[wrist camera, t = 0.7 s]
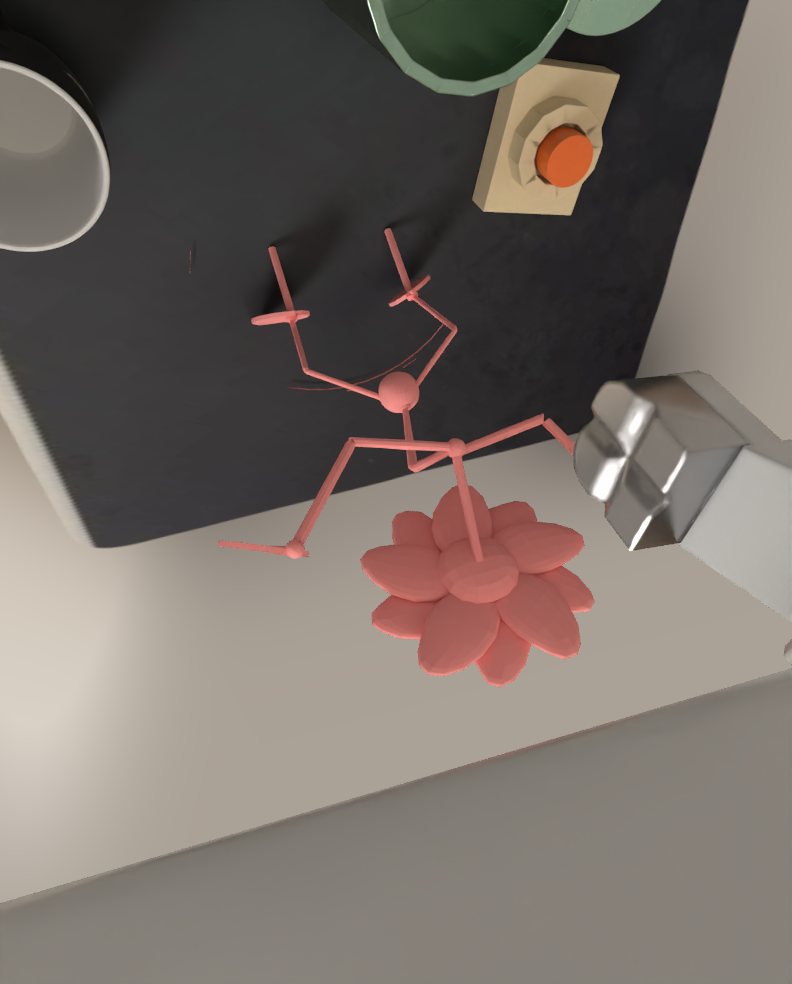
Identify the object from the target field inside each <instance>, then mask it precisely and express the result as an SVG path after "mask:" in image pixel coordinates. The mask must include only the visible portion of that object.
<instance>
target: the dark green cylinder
mask: <svg viewBox="0 0 792 984" xmlns="http://www.w3.org/2000/svg"><path fill="white" fill-rule="evenodd" d="M323 1H324V2H325V3H326V5H327V6H328V7H329V9H330V10H331V11H332V12H333V13H335V14H336V15H337V16H338V17H339V18H340V19H342V20H343V21H344V22H345V23H346V24H347V25H349V26H350V27H351V28H352V29H353V30H354V31H356V32H357V33H358V34H359V35H360V36H361V37H363V38H364V39H365V40H366V41H367V42H368V43H370V44H371V45H372V46H373V47H374V48H375V49H377V50H378V51H379V52H380V53H381V54H382V55H384V56H385V57H386V58H387V59H388V60H389V61H391V62H392V63H393V64H394V65H395V66H396V67H398V68H399V69H400V70H401V71H402V72H403V73H404V74H406V75H408V76H409V77H411V78H413V79H414V80H416V81H417V82H419V83H421V84H422V85H424V86H426V87H427V88H429V89H431V90H432V91H434V92H437V93H442V94H451V95H460V96H469V97H471V96H476V95H479V94H483V93H486V92H489V91H492V90H495V89H499V88H502V87H505V86H508V85H510V84H511V83H513V82H514V81H515V80H517V79H518V78H519V77H521V76H522V75H523V74H525V73H526V72H527V71H529V70H530V69H531V68H533V67H534V66H535V65H537V64H538V63H539V62H541V61H542V59H543V58H544V57H545V56H546V54H547V53H548V52H549V50H550V49H551V48H552V46H553V45H554V44H555V42H556V41H557V40H558V38H559V37H560V36H561V34H562V33H563V32H564V30H565V29H566V28H567V26H568V25H569V24H570V21H571V20H572V18H573V16H574V13H575V11H576V9H577V6H578V4H579V2H580V0H323Z"/></svg>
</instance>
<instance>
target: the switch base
mask: <svg viewBox="0 0 792 984" xmlns="http://www.w3.org/2000/svg"><path fill="white" fill-rule="evenodd" d="M619 77H620V75H619V74H617V73H615V72H613V71H611V70H610V69H608V68H606V67H604V66H598V65H591V64H583V63H576V62H569V61H562V60H555V59H547V58H543V59H542V61H541V62H539V63H538V64H537V65H535V66H534V67H533V68H531V69H530V70H529V71H527V72H526V73H525V74H523V75H522V76H521V77H519V78H518V79H517V80H515V81H514V82H513V83H511V84H510V85H508V86H505V87H502V88H500V89H499V93H498V97H497V102H496V106H495V110H494V114H493V118H492V122H491V126H490V130H489V134H488V138H487V142H486V146H485V150H484V154H483V158H482V162H481V166H480V170H479V174H478V178H477V182H476V186H475V190H474V194H473V198H472V200H473V201H474V202H475V203H476V204H477V205H478V206H479V207H480V208H481V209H482V210H483V211H485V212H509V213H532V214H555V215H571V213H572V211H573V208H574V205H575V202H576V199H577V196H578V193H579V191H580V188H581V185H582V183H583V182H584V181H585V180H586V178H587V177H588V176H589V175H590V174H591V173H592V171H593V170H594V168H595V165H596V162H597V160H598V157H599V154H600V151H601V148H602V145H603V144H602V132H601V128H602V125H603V122H604V119H605V117H606V114H607V111H608V108H609V105H610V102H611V99H612V97H613V94H614V91H615V88H616V85H617V82H618V80H619ZM565 126H566V127H572V128H574V129H575V130H577V131H578V132H580V133H581V134H583V135H584V136H586V137H587V138H588V139H589V140H590V142H591V144H592V147H593V159H592V163H591V166H590V168H589V170H588V171H587V173H586V174H585V176H584V177H583V178H582V179H581V180H580V181H579V182H577V183H576V184H574V185H572V186H570V187H566V188H560V187H556V186H554V185H553V184H552V183H551V182H549V181H548V180H547V179H546V178H544V177H543V176H542V175H541V174H540V172H539V171H538V168H537V163H536V158H537V152H538V149H539V147H540V145H541V143H542V141H543V140H544V139H545V137H546V136H547V135H548V134H549V133H551V132H552V131H553V130H555V129H557V128H560V127H565Z"/></svg>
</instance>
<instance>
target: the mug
mask: <svg viewBox="0 0 792 984" xmlns="http://www.w3.org/2000/svg"><path fill="white" fill-rule="evenodd" d="M110 179H111V173H110V161H109V154H108V149H107V145H106V141H105V137H104V134H103V131H102V128H101V125H100V122H99V119H98V117H97V114H96V112H95V110H94V108H93V105H92V103H91V101H90V99H89V97H88V96H87V94H86V92H85V90H84V88H83V87H82V85H81V84H80V82H79V81H78V79H77V78H76V76H75V75H74V74H73V73H72V71H71V70H70V69H69V68H68V66H67V65H66V64H65V63H64V62H63V61H62V60H61V59H60V58H59V57H58V56H57V55H55V54H54V53H53V52H52V51H51V50H49V49H48V48H47V47H45V46H44V45H42V44H41V43H39V42H37V41H35V40H34V39H32V38H30V37H28V36H25V35H23V34H20V33H18V32H16V31H14V30H13V29H11V28H10V27H9V25H8V24H7V22H6V20H5V19H4V16H3V14H2V12H1V10H0V248H3V249H7V250H14V251H26V252H32V251H45V250H50V249H54V248H58V247H61V246H64V245H66V244H68V243H71V242H72V241H74V240H76V239H78V238H79V237H81V236H82V235H83V234H85V233H86V232H87V231H88V230H89V229H90V228H91V227H92V226H93V225H94V224H95V222H96V221H97V220H98V218H99V217H100V215H101V213H102V211H103V209H104V207H105V204H106V202H107V198H108V195H109V189H110Z"/></svg>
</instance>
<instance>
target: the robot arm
mask: <svg viewBox="0 0 792 984" xmlns="http://www.w3.org/2000/svg"><path fill="white" fill-rule="evenodd" d="M591 407H592V410H593V413H594V418H593V419H592V420H591V421H590V422H589V423H588V424H587V425H586V426H585V427H584V428H583V429H582V430H581V431H580V433H579V436H578V438H577V441H576V444H575V446H574V449H573V456H574V469H575V472H576V475H577V477H578V480H579V482H580V484H581V485H582V486H583V488H584V489H585V490H586V492H587V493H588V494H589V495H590V496H592V497H594V498H596V499H598V500H599V501H601V502H603V503H605V518H606V519H607V521H608V522H609V523H610V525H611V526H612V527H613V528H614V530H615V531H616V533H617V534H618V535H619V536H620V538H621V539H622V540H623V542H624V543H625V544H626V546H627V547H628V549H629V550H630V551H633V550H639V549H645V548H650V547H657V546H663V545H669V544H675V543H681V544H680V546H681V547H682V548H684V549H685V550H686V551H688V552H689V553H691V554H692V555H694V556H695V557H697V558H698V559H700V560H701V561H702V562H704V563H705V564H707V565H708V566H710V567H711V568H713V569H714V570H715V571H717V572H718V573H720V574H721V575H723V576H724V577H726V578H727V579H729V580H730V581H731V582H733V583H734V584H736V585H737V586H739V587H740V588H742V589H743V590H745V591H746V592H747V593H749V594H750V595H752V596H753V597H755V598H756V599H758V600H759V601H760V602H762V603H763V604H765V605H766V606H768V607H769V608H771V609H772V610H774V611H775V612H776V613H778V614H779V615H781V616H782V617H784V618H785V619H787V620H788V621H789V622H791V623H792V440H783V441H782V440H781V439H780V438H779V437H777V436H776V435H775V434H774V433H773V432H772V431H771V430H770V429H769V428H768V427H767V426H766V425H764V424H763V423H762V422H761V421H760V420H759V419H758V418H757V417H756V416H755V415H753V414H752V413H751V412H750V411H749V410H748V409H747V408H746V407H745V406H744V405H743V404H741V403H740V402H739V401H738V400H737V399H736V398H735V397H734V396H733V395H732V394H731V393H729V392H728V391H727V390H726V389H725V388H724V387H723V386H722V385H721V384H720V383H719V382H717V381H716V380H715V379H714V378H713V377H712V376H711V375H708V374H706V373H703V372H700V371H693V372H684V373H675V374H669V375H666V376H657V377H647V378H637V379H627V380H617V381H607V382H606V383H605V384H604V385H603V386H602V387H601V388H600V389H599V390H598V391H597V394H596V396H595V398H594V400H593V402H592V405H591ZM784 656H785V658H786V659H787V660H788V661H789V662H790V664H791V665H792V640H791V641H790V642H789V643H788V644H787V645H786V646H785V650H784ZM0 984H792V669H788V670H785V671H782V672H778V673H775V674H771V675H768V676H765V677H761V678H758V679H755V680H751V681H748V682H745V683H741V684H738V685H734V686H731V687H728V688H724V689H721V690H718V691H714V692H711V693H708V694H704V695H701V696H697V697H694V698H691V699H687V700H684V701H680V702H677V703H674V704H670V705H667V706H664V707H660V708H657V709H653V710H650V711H647V712H643V713H640V714H637V715H633V716H630V717H626V718H624V719H620V720H616V721H613V722H610V723H606V724H603V725H600V726H596V727H593V728H590V729H586V730H583V731H579V732H576V733H573V734H569V735H566V736H562V737H559V738H556V739H553V740H549V741H546V742H542V743H539V744H535V745H532V746H529V747H526V748H522V749H519V750H516V751H512V752H509V753H505V754H502V755H498V756H495V757H492V758H488V759H485V760H482V761H478V762H475V763H471V764H468V765H465V766H461V767H458V768H455V769H451V770H448V771H445V772H441V773H438V774H434V775H431V776H428V777H424V778H421V779H418V780H414V781H411V782H407V783H404V784H401V785H398V786H394V787H390V788H388V789H384V790H381V791H377V792H374V793H370V794H367V795H363V796H360V797H357V798H353V799H350V800H347V801H344V802H340V803H336V804H333V805H330V806H326V807H323V808H320V809H316V810H313V811H310V812H306V813H303V814H300V815H296V816H293V817H289V818H286V819H283V820H279V821H276V822H273V823H269V824H266V825H262V826H259V827H256V828H252V829H249V830H246V831H242V832H239V833H236V834H232V835H229V836H225V837H222V838H219V839H215V840H212V841H209V842H205V843H202V844H198V845H195V846H192V847H188V848H185V849H182V850H178V851H175V852H172V853H168V854H165V855H161V856H158V857H155V858H151V859H148V860H145V861H141V862H138V863H135V864H131V865H128V866H124V867H121V868H118V869H114V870H111V871H108V872H105V873H101V874H98V875H94V876H91V877H87V878H84V879H81V880H78V881H74V882H71V883H67V884H64V885H61V886H57V887H54V888H51V889H47V890H44V891H41V892H37V893H34V894H31V895H27V896H23V897H20V898H17V899H13V900H10V901H7V902H3V903H0Z"/></svg>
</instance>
